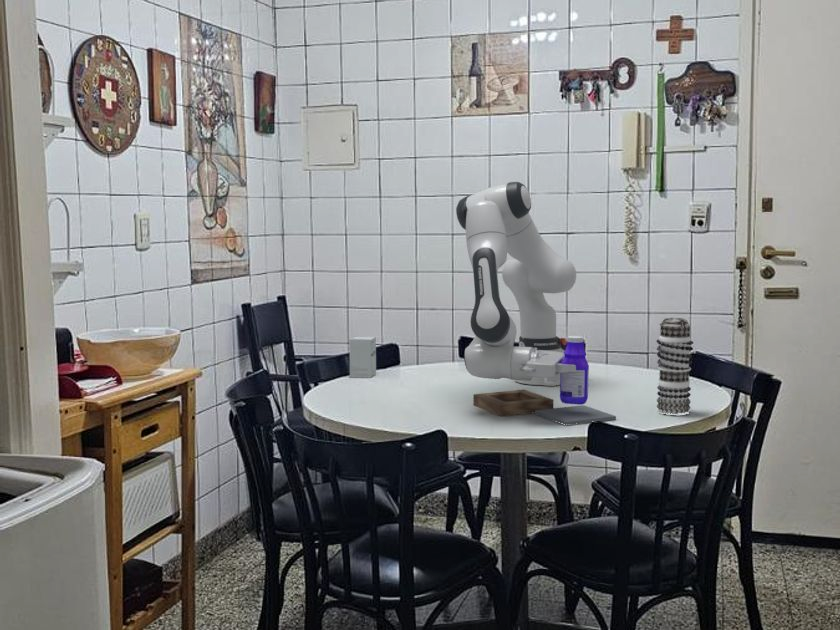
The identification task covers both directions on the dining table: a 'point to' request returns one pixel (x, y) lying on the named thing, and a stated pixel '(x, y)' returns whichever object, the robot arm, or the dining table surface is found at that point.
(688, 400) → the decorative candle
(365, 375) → the supplement box
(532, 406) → the wooden square tray
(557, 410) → the slate mat
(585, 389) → the bottle
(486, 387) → the dining table surface
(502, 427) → the dining table surface
